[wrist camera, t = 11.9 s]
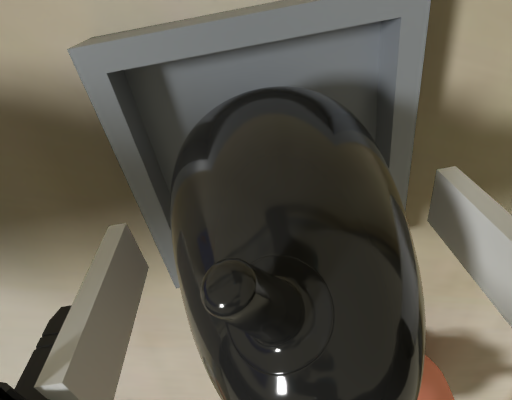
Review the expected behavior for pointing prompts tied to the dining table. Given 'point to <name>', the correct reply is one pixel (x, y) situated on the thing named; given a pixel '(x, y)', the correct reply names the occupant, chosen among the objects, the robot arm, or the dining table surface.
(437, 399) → the teapot
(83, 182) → the dining table surface
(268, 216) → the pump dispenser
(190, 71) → the tray
